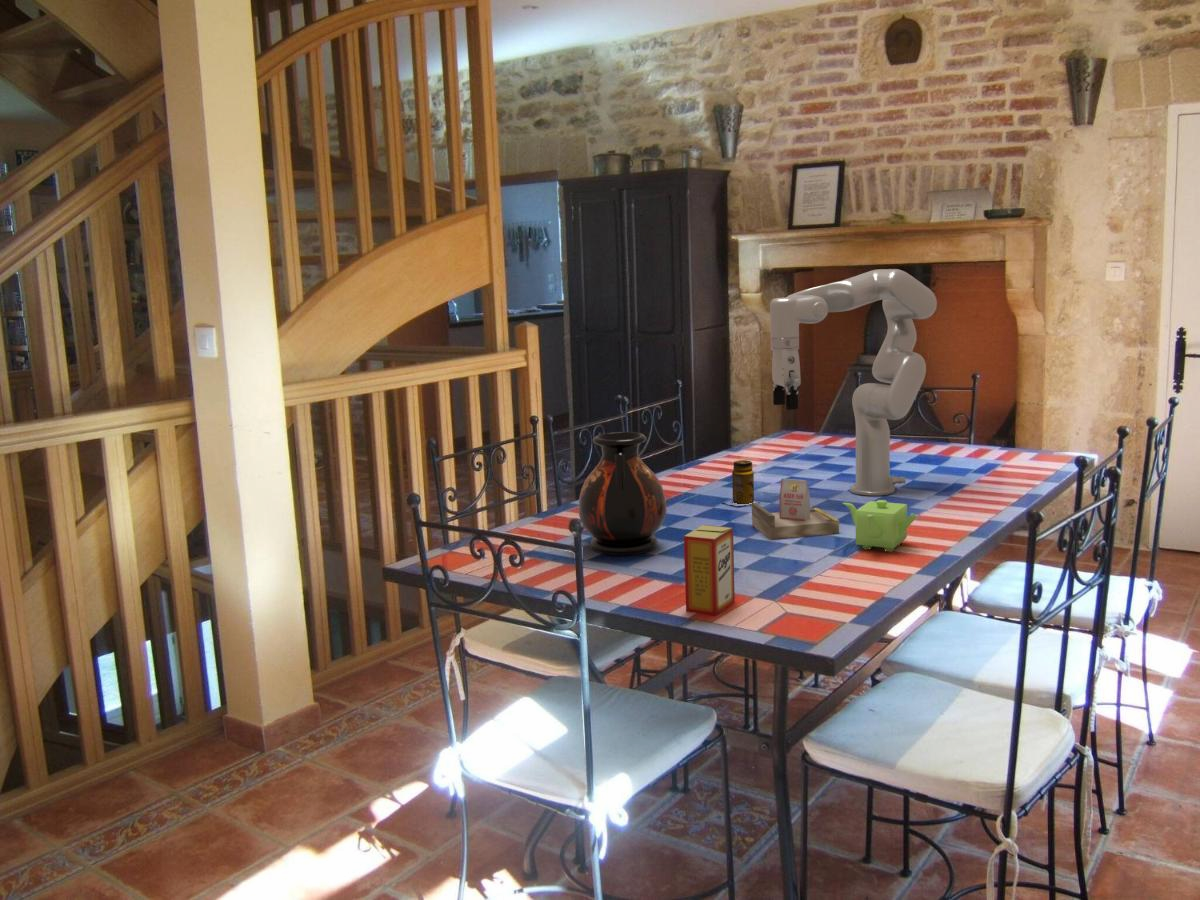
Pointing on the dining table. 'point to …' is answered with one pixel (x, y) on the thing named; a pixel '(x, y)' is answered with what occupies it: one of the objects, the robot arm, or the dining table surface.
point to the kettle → (881, 524)
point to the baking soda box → (709, 569)
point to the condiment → (743, 482)
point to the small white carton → (794, 499)
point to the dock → (793, 524)
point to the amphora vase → (622, 498)
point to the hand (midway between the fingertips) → (785, 406)
